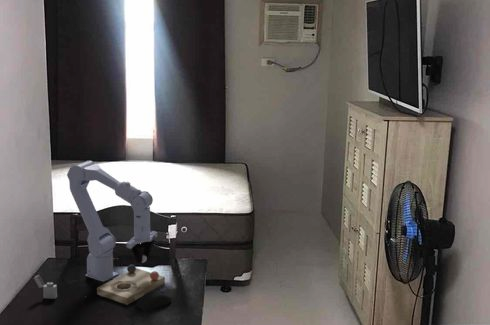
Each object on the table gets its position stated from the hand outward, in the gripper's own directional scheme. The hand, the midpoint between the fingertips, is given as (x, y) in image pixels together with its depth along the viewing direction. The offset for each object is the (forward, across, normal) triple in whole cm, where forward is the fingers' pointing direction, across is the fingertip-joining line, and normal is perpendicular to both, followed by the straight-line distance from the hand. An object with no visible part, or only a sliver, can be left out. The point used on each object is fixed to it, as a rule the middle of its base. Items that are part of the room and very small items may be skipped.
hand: (142, 260), depth 192 cm
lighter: (+9, -27, +20) cm, 35 cm away
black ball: (+4, 0, +5) cm, 7 cm away
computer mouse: (+9, -10, -14) cm, 19 cm away
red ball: (+4, 0, -6) cm, 7 cm away
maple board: (+9, -6, 0) cm, 10 cm away
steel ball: (-1, 0, 0) cm, 1 cm away
